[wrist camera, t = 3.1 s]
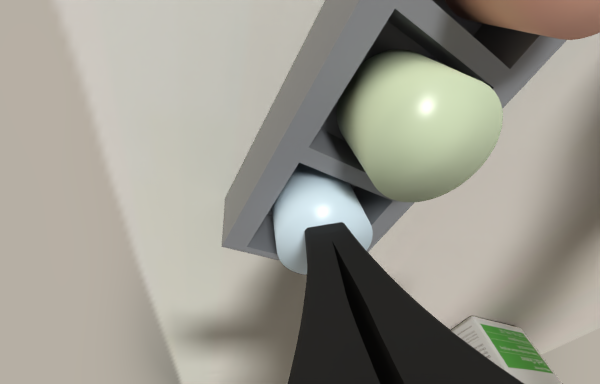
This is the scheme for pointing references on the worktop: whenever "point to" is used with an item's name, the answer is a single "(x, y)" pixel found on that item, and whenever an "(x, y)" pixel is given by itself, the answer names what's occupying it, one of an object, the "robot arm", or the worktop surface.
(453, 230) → the worktop surface
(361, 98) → the sage button
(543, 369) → the skincare box
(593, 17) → the terracotta button
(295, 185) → the blue button
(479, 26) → the console
